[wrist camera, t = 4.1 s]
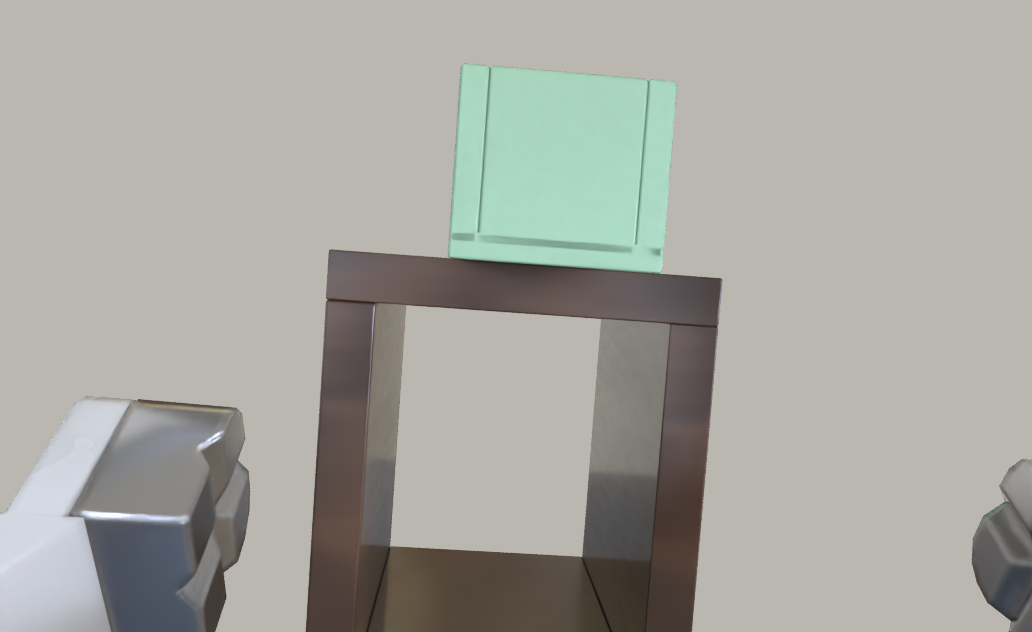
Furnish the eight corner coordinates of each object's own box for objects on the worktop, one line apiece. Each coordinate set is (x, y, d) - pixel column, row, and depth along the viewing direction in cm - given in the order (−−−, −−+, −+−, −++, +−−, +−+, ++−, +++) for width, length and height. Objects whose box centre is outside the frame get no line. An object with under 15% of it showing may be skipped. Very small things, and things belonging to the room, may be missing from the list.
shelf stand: (592, 813, 43) (637, 272, 41) (653, 1080, 29) (722, 278, 27) (340, 804, 42) (376, 253, 41) (278, 1072, 28) (328, 249, 27)
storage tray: (557, 266, 41) (564, 178, 40) (661, 274, 19) (678, 80, 19) (458, 259, 40) (465, 170, 40) (447, 257, 18) (461, 62, 18)
